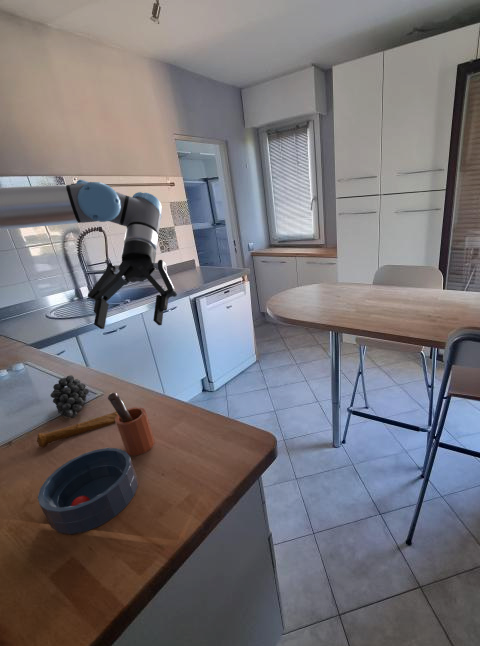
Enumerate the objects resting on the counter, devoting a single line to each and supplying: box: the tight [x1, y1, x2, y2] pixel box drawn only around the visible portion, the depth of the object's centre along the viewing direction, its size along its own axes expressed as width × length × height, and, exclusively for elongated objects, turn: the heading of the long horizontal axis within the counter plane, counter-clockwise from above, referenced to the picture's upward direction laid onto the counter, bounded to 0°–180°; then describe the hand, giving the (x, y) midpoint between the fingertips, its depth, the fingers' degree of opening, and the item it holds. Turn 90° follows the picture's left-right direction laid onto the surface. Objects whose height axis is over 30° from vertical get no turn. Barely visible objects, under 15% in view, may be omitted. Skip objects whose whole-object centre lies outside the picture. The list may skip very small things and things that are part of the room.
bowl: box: [37, 447, 139, 535], centre depth 62 cm, size 15×15×6 cm
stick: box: [107, 392, 133, 422], centre depth 71 cm, size 2×2×17 cm
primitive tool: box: [36, 411, 118, 449], centre depth 82 cm, size 19×6×4 cm, turn 127°
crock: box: [114, 406, 155, 456], centre depth 74 cm, size 6×6×9 cm
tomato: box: [71, 496, 90, 506], centre depth 60 cm, size 3×3×3 cm
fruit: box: [50, 374, 90, 419], centre depth 90 cm, size 9×8×15 cm
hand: (128, 324), depth 76 cm, fingers open, 13 cm apart
